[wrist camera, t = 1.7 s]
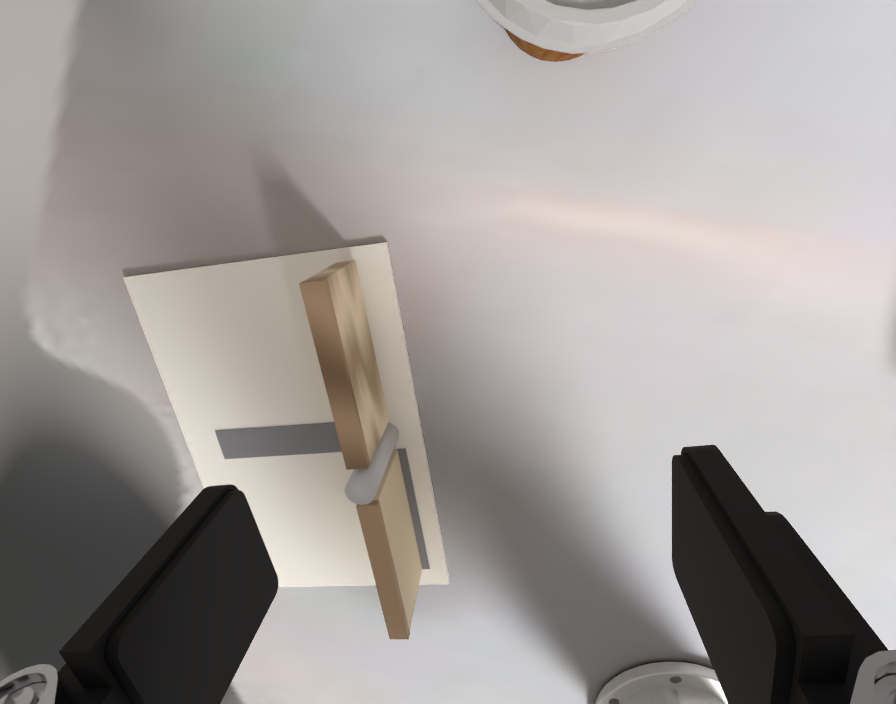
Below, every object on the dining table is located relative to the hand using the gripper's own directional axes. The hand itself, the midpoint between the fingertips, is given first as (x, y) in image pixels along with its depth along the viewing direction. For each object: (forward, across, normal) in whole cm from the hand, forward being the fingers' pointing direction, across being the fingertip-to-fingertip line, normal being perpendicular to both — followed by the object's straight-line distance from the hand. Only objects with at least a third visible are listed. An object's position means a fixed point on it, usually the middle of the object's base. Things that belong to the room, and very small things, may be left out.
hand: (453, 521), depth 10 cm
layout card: (+20, +15, +10) cm, 27 cm away
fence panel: (+20, +8, +3) cm, 21 cm away
